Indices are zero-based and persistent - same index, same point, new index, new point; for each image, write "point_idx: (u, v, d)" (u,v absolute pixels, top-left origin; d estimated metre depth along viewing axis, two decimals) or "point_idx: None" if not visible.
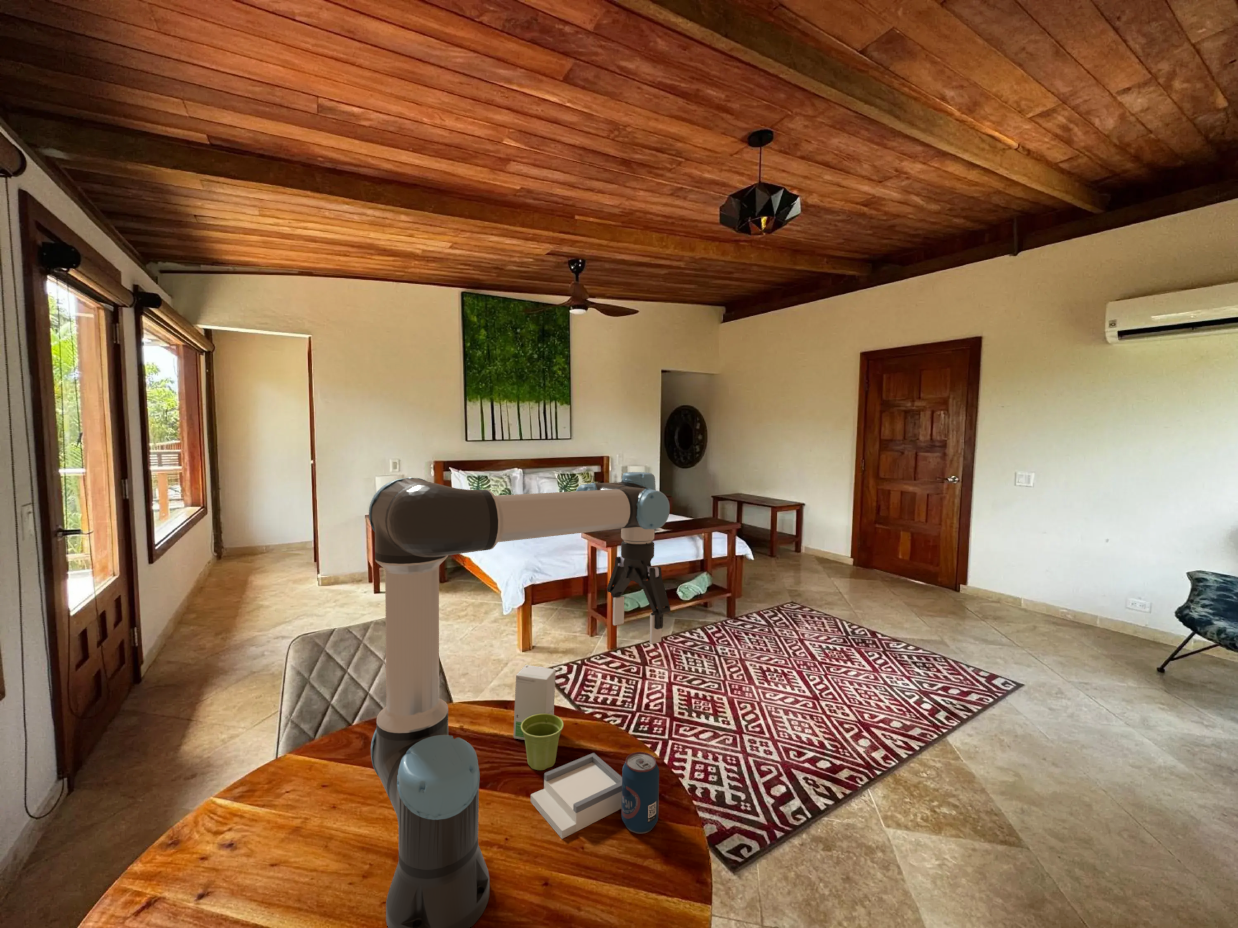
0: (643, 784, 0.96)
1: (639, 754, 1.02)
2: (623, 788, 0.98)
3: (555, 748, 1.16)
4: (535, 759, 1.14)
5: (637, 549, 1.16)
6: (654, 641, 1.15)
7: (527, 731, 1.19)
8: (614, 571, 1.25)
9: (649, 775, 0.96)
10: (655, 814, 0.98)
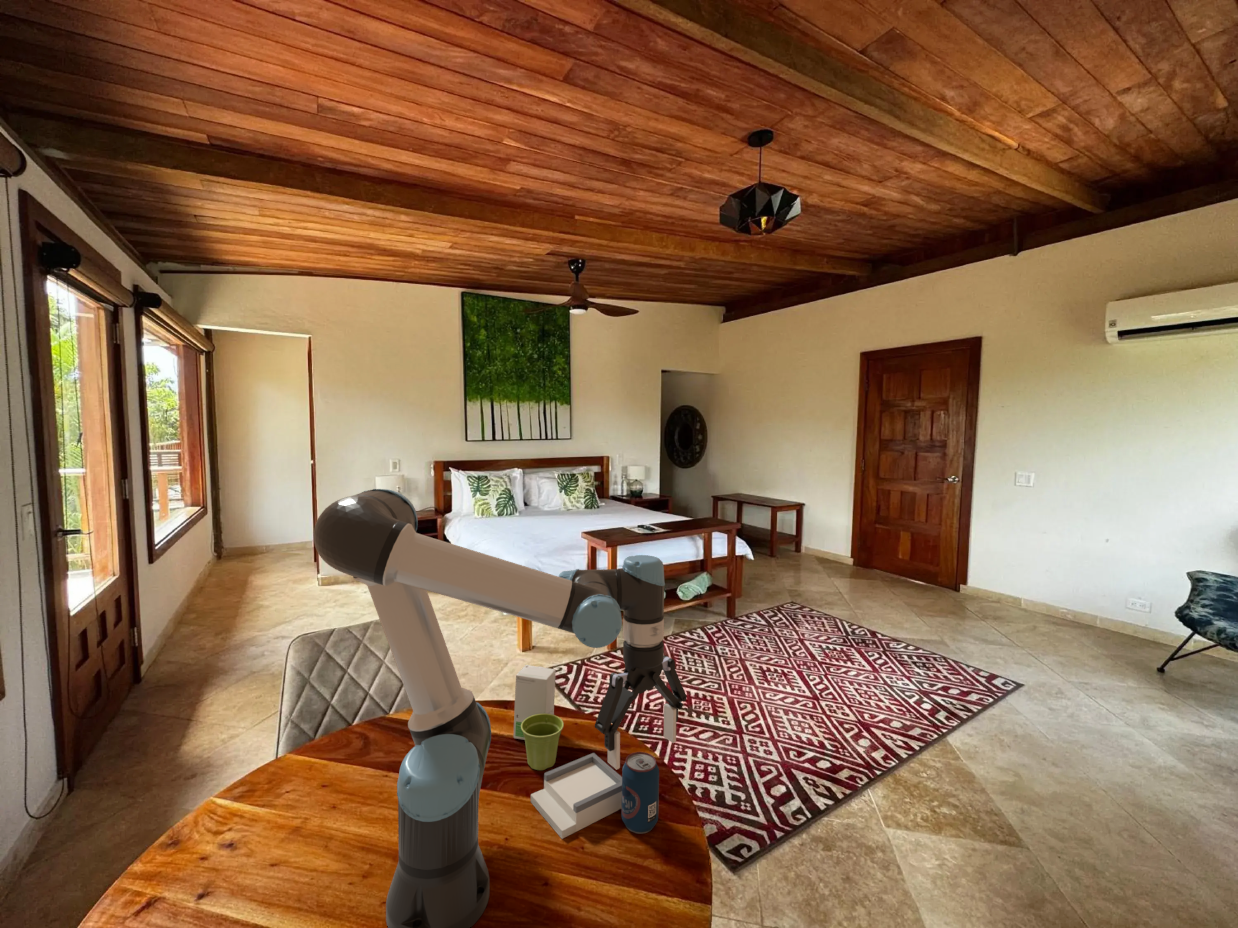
0: (643, 784, 0.96)
1: (639, 754, 1.02)
2: (623, 788, 0.98)
3: (555, 748, 1.16)
4: (535, 758, 1.14)
5: (623, 646, 0.98)
6: (609, 761, 0.95)
7: (527, 731, 1.19)
8: None
9: (649, 775, 0.96)
10: (655, 814, 0.98)
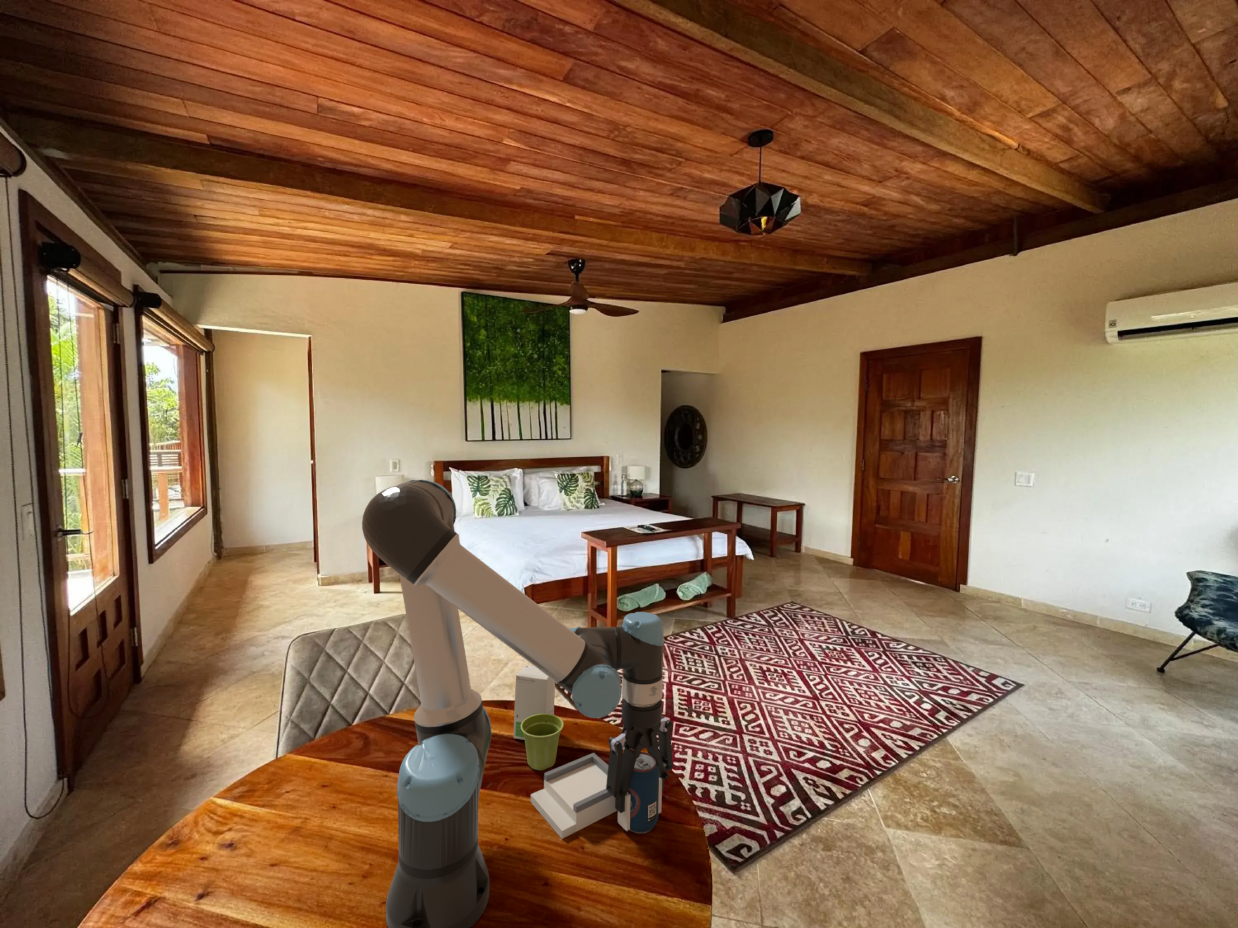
0: (643, 784, 0.96)
1: None
2: None
3: (555, 748, 1.16)
4: (535, 758, 1.14)
5: None
6: (620, 822, 0.98)
7: (527, 731, 1.19)
8: None
9: (649, 775, 0.96)
10: (655, 814, 0.98)
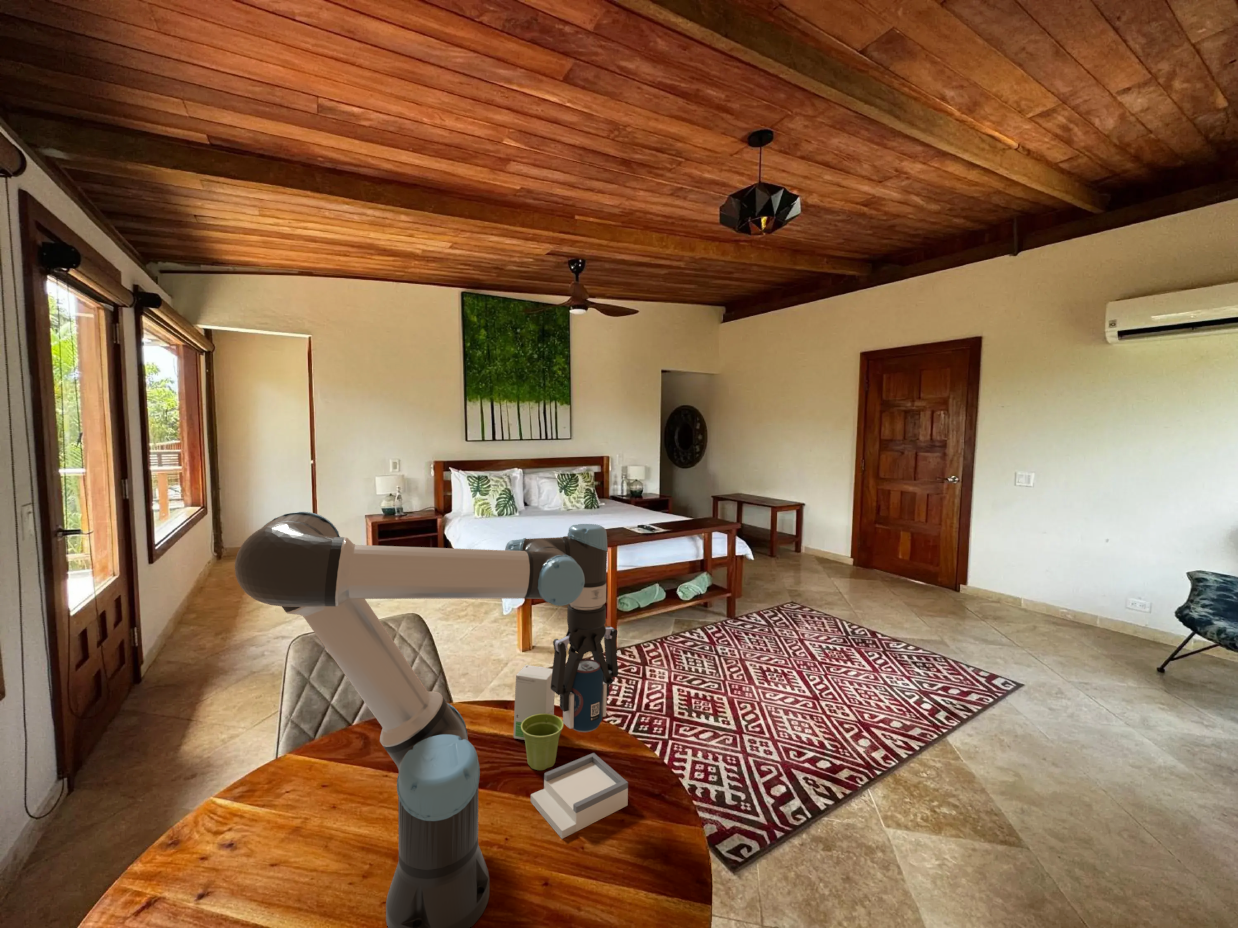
0: (585, 684, 1.00)
1: (585, 661, 1.06)
2: None
3: (555, 748, 1.16)
4: (535, 758, 1.14)
5: (567, 610, 1.03)
6: (564, 722, 1.02)
7: (527, 731, 1.19)
8: None
9: (592, 676, 1.01)
10: (598, 715, 1.02)
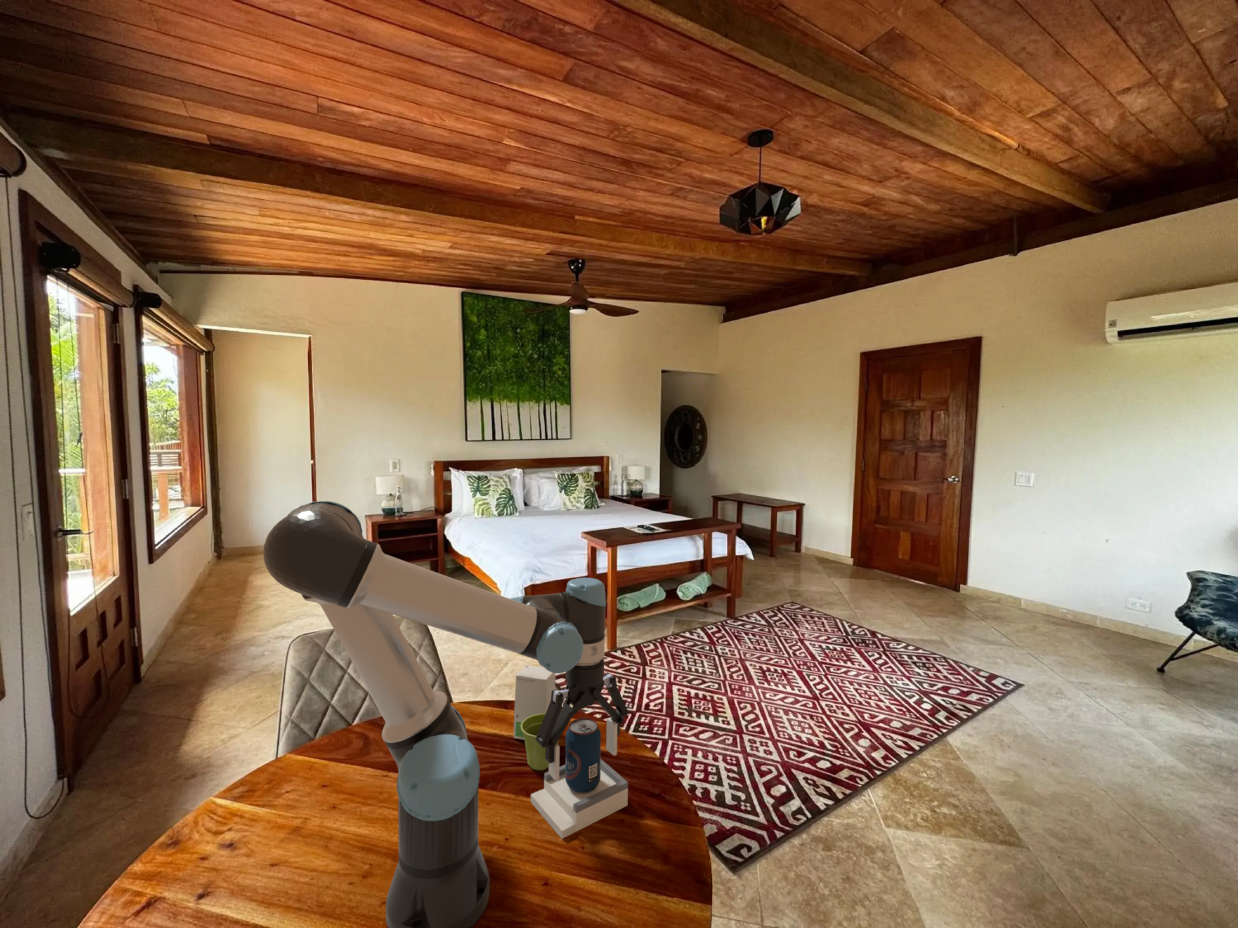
0: (583, 746, 1.01)
1: (583, 720, 1.07)
2: (566, 751, 1.03)
3: None
4: (535, 758, 1.14)
5: None
6: (550, 773, 1.01)
7: (527, 731, 1.19)
8: None
9: (589, 738, 1.02)
10: (596, 776, 1.03)
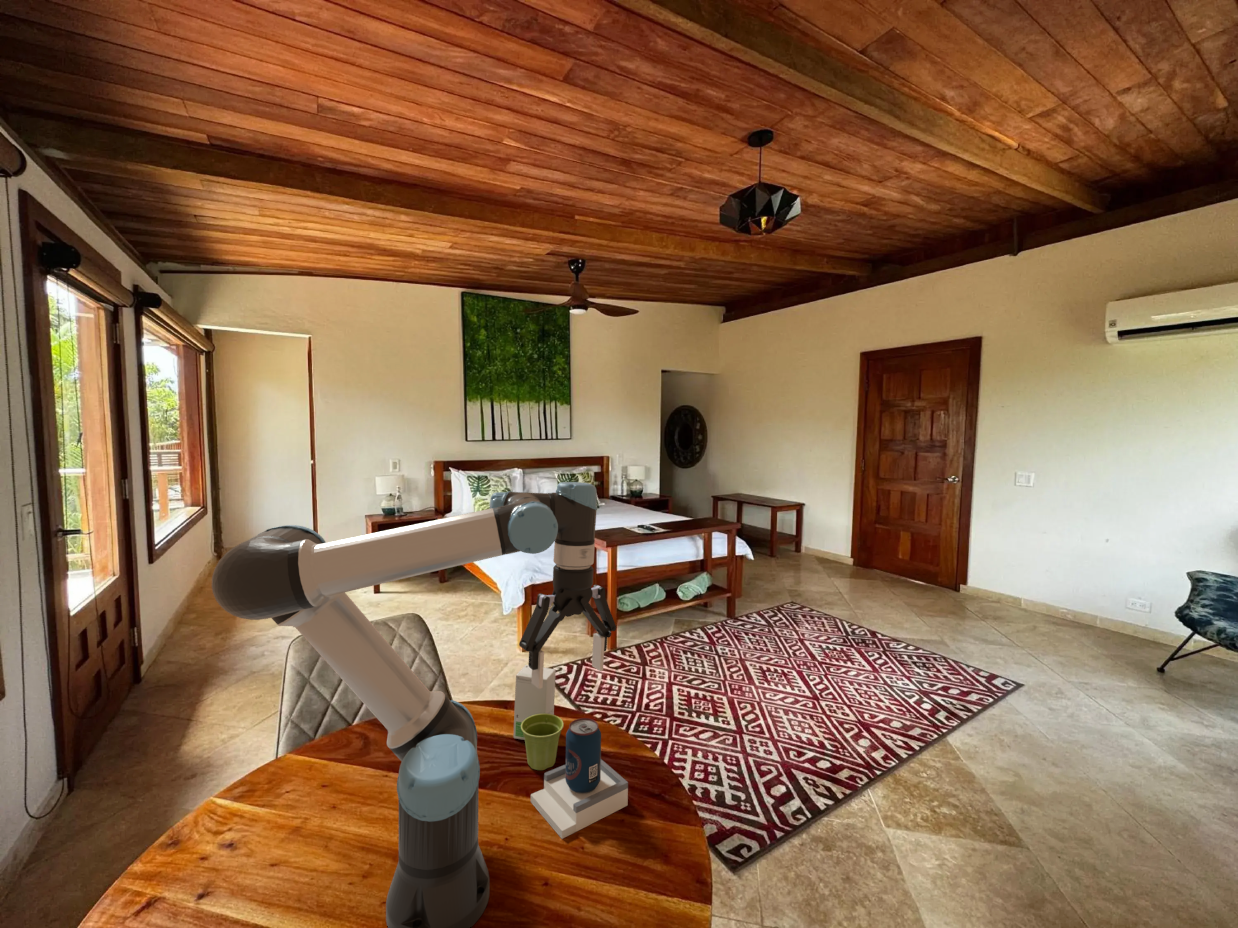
0: (583, 747, 1.01)
1: (583, 720, 1.07)
2: (566, 751, 1.03)
3: (555, 748, 1.16)
4: (535, 758, 1.14)
5: None
6: (533, 682, 0.96)
7: (527, 731, 1.19)
8: None
9: (590, 738, 1.02)
10: (596, 776, 1.03)
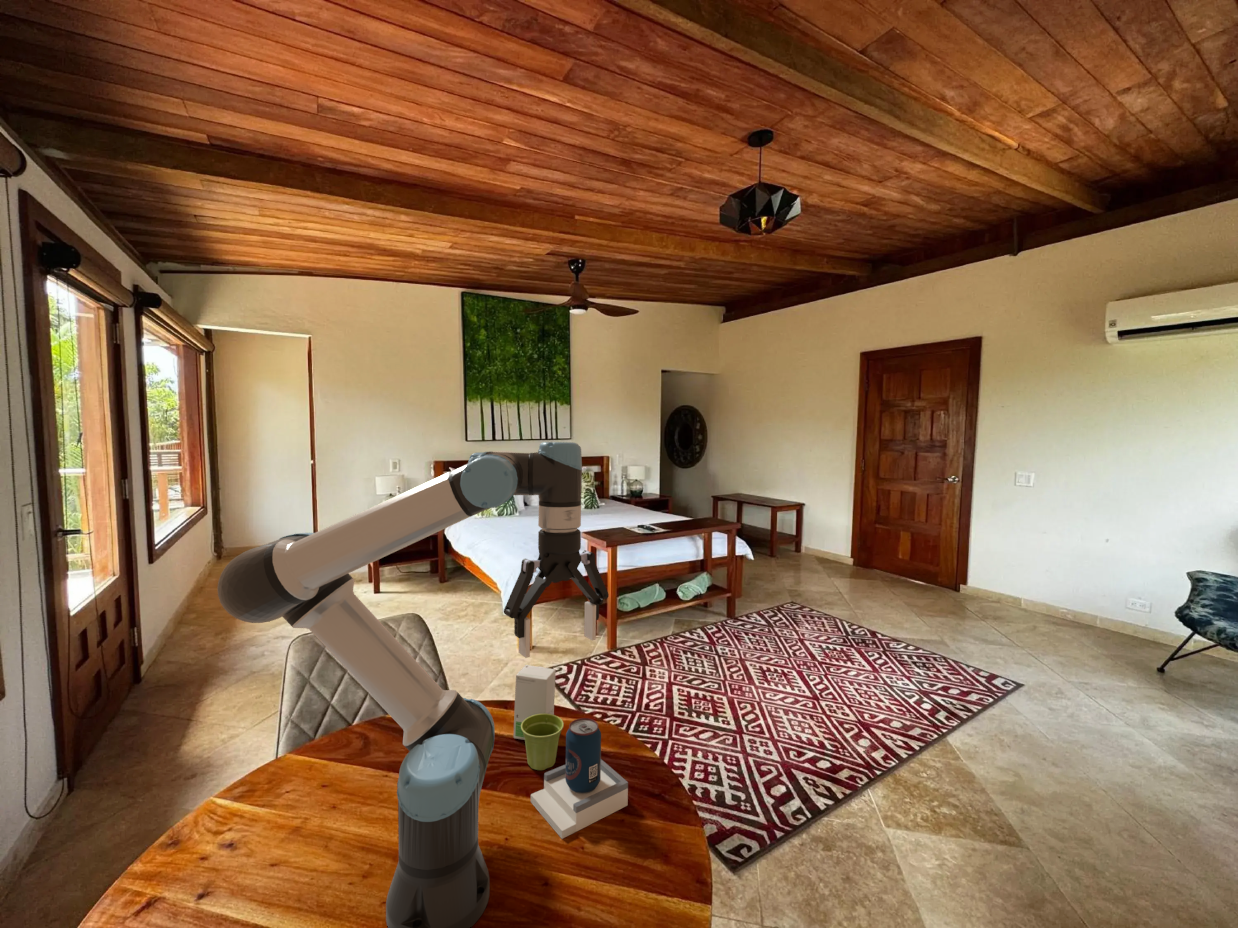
0: (583, 747, 1.01)
1: (583, 720, 1.07)
2: (566, 751, 1.03)
3: (555, 748, 1.16)
4: (535, 758, 1.14)
5: (538, 535, 0.94)
6: (520, 651, 0.91)
7: (527, 731, 1.19)
8: None
9: (590, 738, 1.02)
10: (596, 776, 1.03)
